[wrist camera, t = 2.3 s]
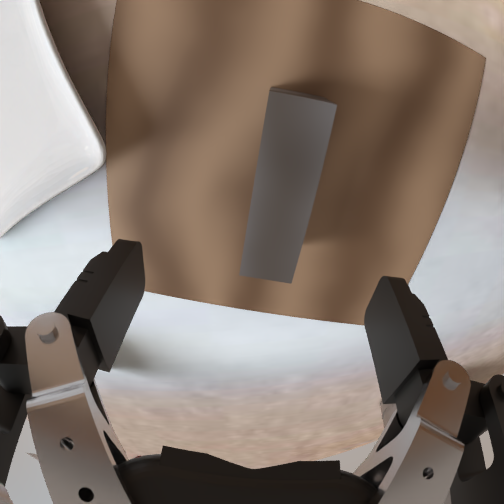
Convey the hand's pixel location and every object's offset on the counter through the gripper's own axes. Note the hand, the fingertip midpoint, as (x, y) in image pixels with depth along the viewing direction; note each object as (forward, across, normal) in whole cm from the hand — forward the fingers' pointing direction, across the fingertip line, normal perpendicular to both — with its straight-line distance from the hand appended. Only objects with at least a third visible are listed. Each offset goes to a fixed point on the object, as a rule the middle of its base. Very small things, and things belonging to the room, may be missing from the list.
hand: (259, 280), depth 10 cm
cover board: (+11, -1, 0) cm, 11 cm away
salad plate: (+11, +23, -5) cm, 26 cm away
